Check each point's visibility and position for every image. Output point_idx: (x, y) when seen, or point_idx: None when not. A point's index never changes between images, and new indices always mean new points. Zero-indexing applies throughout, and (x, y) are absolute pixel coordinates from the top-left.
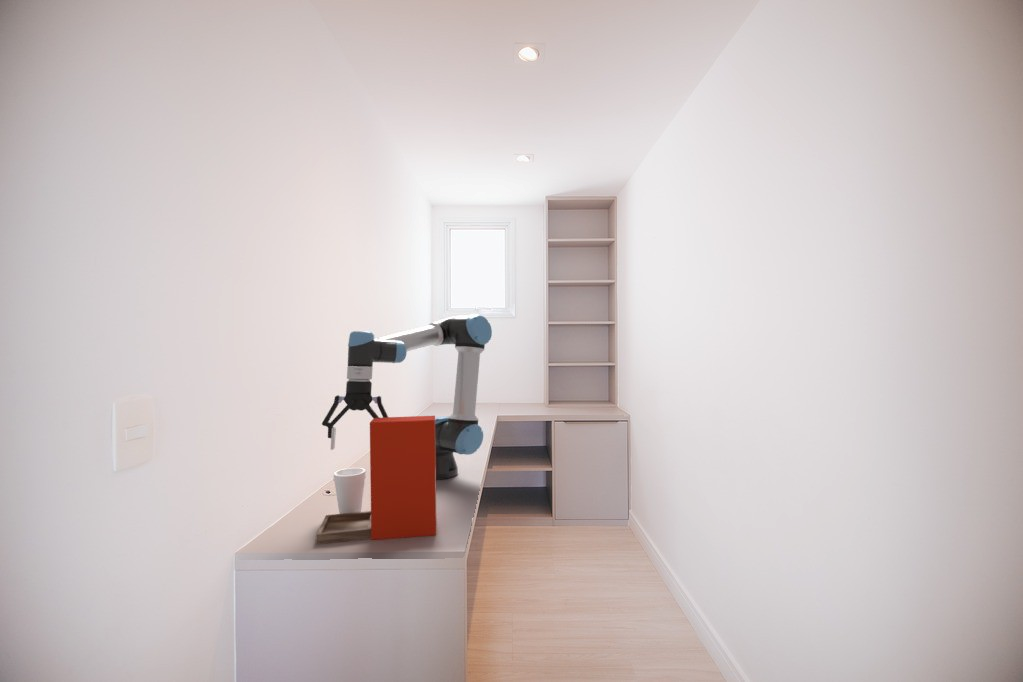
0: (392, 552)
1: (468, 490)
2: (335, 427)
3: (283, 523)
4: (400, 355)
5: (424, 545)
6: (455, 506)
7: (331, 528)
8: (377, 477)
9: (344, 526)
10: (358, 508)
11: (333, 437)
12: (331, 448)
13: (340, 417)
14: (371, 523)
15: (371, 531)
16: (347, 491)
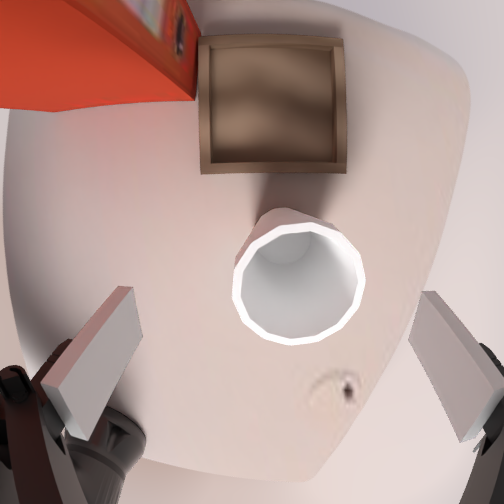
0: None
1: (21, 318)
2: (468, 429)
3: (434, 207)
4: None
5: None
6: (25, 222)
7: (317, 110)
8: None
9: (283, 114)
10: (257, 222)
11: (461, 338)
12: (434, 293)
13: (494, 493)
14: (193, 17)
15: (197, 25)
16: (295, 214)
